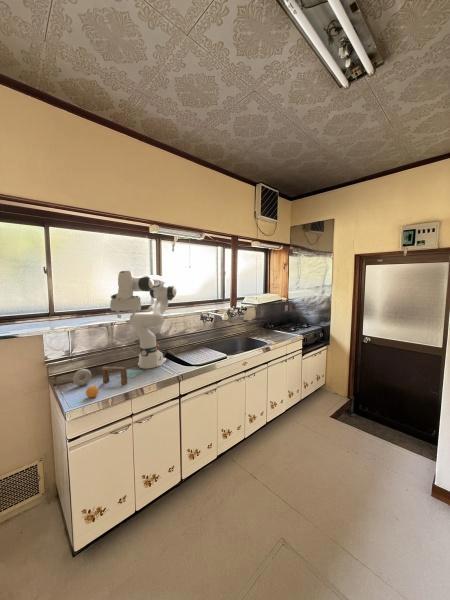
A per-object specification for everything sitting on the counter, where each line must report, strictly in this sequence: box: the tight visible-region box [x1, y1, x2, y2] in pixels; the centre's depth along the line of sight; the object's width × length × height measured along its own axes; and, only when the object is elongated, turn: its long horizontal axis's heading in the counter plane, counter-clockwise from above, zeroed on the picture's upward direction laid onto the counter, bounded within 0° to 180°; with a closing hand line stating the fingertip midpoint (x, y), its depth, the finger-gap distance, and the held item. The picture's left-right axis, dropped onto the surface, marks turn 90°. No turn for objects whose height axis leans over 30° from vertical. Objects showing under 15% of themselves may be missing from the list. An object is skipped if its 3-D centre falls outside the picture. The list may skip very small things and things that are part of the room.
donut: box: [72, 368, 92, 387], centre depth 147 cm, size 10×4×10 cm, turn 136°
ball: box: [85, 385, 99, 398], centre depth 131 cm, size 6×6×6 cm
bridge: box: [101, 365, 128, 386], centre depth 148 cm, size 3×15×10 cm, turn 76°
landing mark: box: [115, 369, 145, 379], centre depth 163 cm, size 13×13×1 cm
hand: (125, 317), depth 153 cm, fingers open, 8 cm apart
